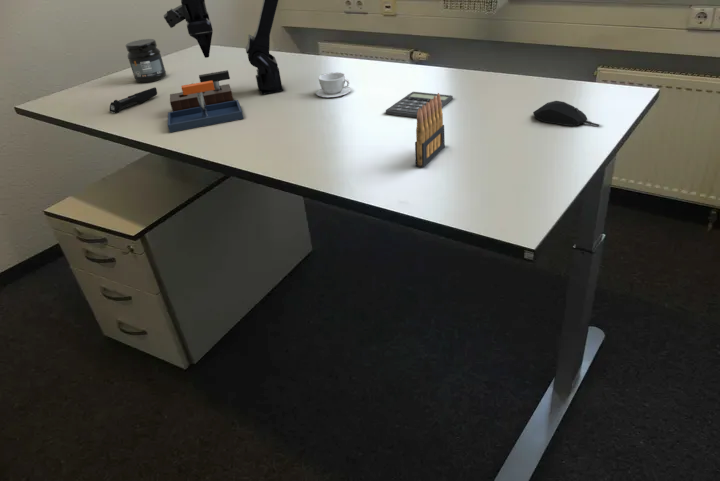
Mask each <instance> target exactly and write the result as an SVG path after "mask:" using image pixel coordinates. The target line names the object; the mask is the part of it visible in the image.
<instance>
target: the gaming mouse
mask: <svg viewBox="0 0 720 481" xmlns="http://www.w3.org/2000/svg"><path fill="white" fill-rule="evenodd" d="M532 113H533V116H534V117H535V119H537V120H539V121H541V122H545V123H552V124H558V125H564V126H569V127H570V126H580V125H582V124H587V125H592V126H596V127H600V124H599V123H594V122H592V121H590V120H588V117H587V115H586V114H585V113H584V112H583V111H582V110H580V109H579V108H578V107H576V106H574V105H571V104H570V103H567V102H565V101H562V100H561V101H560V100H553V101H550V102H546V103H545V104H543V105H542V106H540V107H539V108H537V109H536V110H534V111H533V112H532Z"/></svg>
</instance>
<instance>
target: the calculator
mask: <svg viewBox="0 0 720 481" xmlns="http://www.w3.org/2000/svg"><path fill="white" fill-rule="evenodd" d="M437 94H438V93H431V92H429V93H428V92H421V91H412V92H410V93H409V94H407V95H405V96H404V97H402V98H401V99H400V100H398V101H397V102H395V103H394V104H392V105H391V106H390V107H388V108H387V109H385V114H386V115H393V116H394V115H395V116H402V117H411V118H417V113H418V109H419V108H420V109H421V110H422V106H423V105H425V106H426V103H427V102H428V103H429V102H430V99H432V100H433V98H434V96H436V97H437ZM439 94H440V97H441V105H442V108H443V107H445V106H446V105H447V104H448V103H449V102H451V101H452V100H453V98H454V96H453V95H451V94H441V93H439Z"/></svg>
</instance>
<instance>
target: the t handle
mask: <svg viewBox="0 0 720 481" xmlns="http://www.w3.org/2000/svg"><path fill="white" fill-rule="evenodd" d="M180 89H181V92H183V95H188V94H194V93H196V94H197V98H198V102H199V106H200V110H201V113H202V117H203V118H206V117H209V116H208V112H207V108H206V104H205V100H204V96H203V92H205V91H211V90H215V89H214V85H213V81H206V82H200V81H199V82H195V83H188V84H183V85H181V88H180Z"/></svg>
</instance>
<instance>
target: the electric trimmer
mask: <svg viewBox="0 0 720 481" xmlns="http://www.w3.org/2000/svg"><path fill="white" fill-rule="evenodd" d="M157 95H158V90H157V88H156V86H155V87H151V88H148V89H145V90H142V91H140V92H136V93H134V94H131V95H127V97H124V98H121V99H119V100H117V99H114V100H113V101H111V102H110V104H109V112H110V113H112V114H115V113H116V114H117V113H119V112H120V111H121V110H123V109H126V108H129V107H131V106H133V105H136V104H142V103H143V102H146V101H148V100H149V99H152V98H153V97H155V96H157Z"/></svg>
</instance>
